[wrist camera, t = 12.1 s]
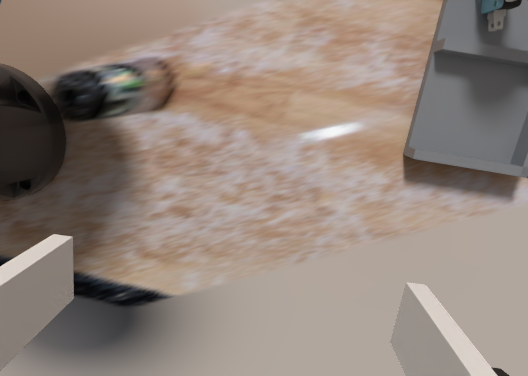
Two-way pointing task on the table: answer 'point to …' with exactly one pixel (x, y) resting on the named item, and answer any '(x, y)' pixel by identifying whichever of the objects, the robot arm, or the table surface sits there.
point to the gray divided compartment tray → (474, 92)
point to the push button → (497, 11)
